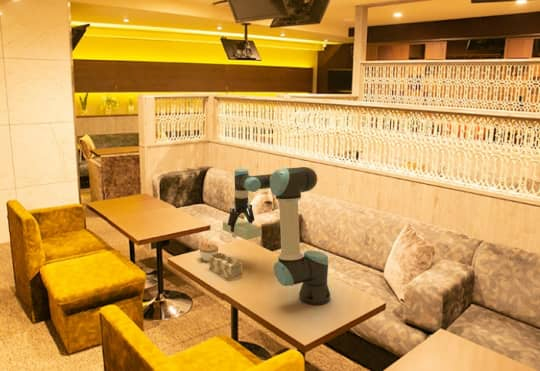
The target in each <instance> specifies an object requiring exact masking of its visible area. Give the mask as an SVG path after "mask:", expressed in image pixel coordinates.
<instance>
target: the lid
mask: <svg viewBox="0 0 540 371" xmlns="http://www.w3.org/2000/svg"><path fill="white" fill-rule="evenodd" d="M228 220H229V219H228ZM228 220H223V221H222V230H223V231H225V232H227V233H229V234H231V235H232V232H231V226H229V225H228ZM247 222H248V221H244V220H242V219H239V218H238V219H237V221H236V224H235V226H236V237H238V238H241V239H243V240H246V241H249V240H251V239H255V238H259V237H261V230H262V229H261V227H260V226H258V225H254V224H250V223H247Z"/></svg>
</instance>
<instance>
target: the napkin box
mask: <svg viewBox="0 0 540 371" xmlns="http://www.w3.org/2000/svg"><path fill="white" fill-rule="evenodd" d="M208 266H209V267H208V268H209V270H210V271H212V272H214V273H215V274H217V275H219V276H220V277H222V278H224V279H226V280H227V281H229V282H232V281H235V280H238V279H242V278H243V262H241V261H239V260H238V259H235V258H233V257H231V256H229V255H227V254H225V253H223V252H218V253H217V254H213V255H209V262H208Z"/></svg>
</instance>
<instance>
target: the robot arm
mask: <svg viewBox="0 0 540 371" xmlns="http://www.w3.org/2000/svg"><path fill="white" fill-rule="evenodd" d="M233 177H234V207H230V208H229V211H230V212H229V216H228V225H229V226H231V232H232V234H231V237H232V238H233V239H236V238H237V236H236V226H235V224H236V221H237V219H239V217H240V215H241V214H244V216H245V218H246V222H247V223H250V224H252V223H253V222H254V221H255V216H254V211H253V204H250V203H249V192H251V193H256V192H257V191H259V190H265V189H269V190H270V193H271V194H272V195H274V197H275V200H276V201H277V202H278V204H279V205H278V206H279V225H280V226H279V227H280V228H279V230H280V251H281V252H280V254H279V255H278V256H277V257H278V261H276V262H275V263H274V265H273V272H274V276H275V279H276V280H277V281H278V283H279V284H280V285H281V286H283V287H288V286H290V287H291V286H294V285H295V286H296V285H298V284H301V286H300V289H299V293H298V299H299V300H300V302H302V303H304V304H307V305H312V306H321V305H325V304H327V303H329V302H330V301H331V292H330V289H329V285H328V277H329V276H328V273H329V272H328V271H329V257H328V255H327V254H326V253H324V252H321V251H316V250H306V251H304V254H303V253H302V252H301V248H300V247H301V246H300V244H301V243H300V242H301V240H300V223H299V220H300V219H299V201H300V199H301V198H302V193H305V192H309V191H311V190H313V189H314V188H315V187H316V185H317V183H318V175H317V172H316V171H315V170H314V169H313V168H311V167H307V166H299V167H288V168H287V167H286V168H281V169H276V170H275V171H274V172H272V173H269V174H259V175H258V174H257V175H250V173H249V170H248V169H247V168H237V169H235V170H234V176H233ZM252 225H253V224H252Z"/></svg>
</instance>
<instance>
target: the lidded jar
mask: <svg viewBox="0 0 540 371" xmlns="http://www.w3.org/2000/svg"><path fill="white" fill-rule="evenodd" d="M217 253H219V246H218V245H216V244H212V243H209V244H202V245H200V246H199V254H200V257H201V259H202V260H203V261H204V262H207V263H209V255H213V254H217Z"/></svg>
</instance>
